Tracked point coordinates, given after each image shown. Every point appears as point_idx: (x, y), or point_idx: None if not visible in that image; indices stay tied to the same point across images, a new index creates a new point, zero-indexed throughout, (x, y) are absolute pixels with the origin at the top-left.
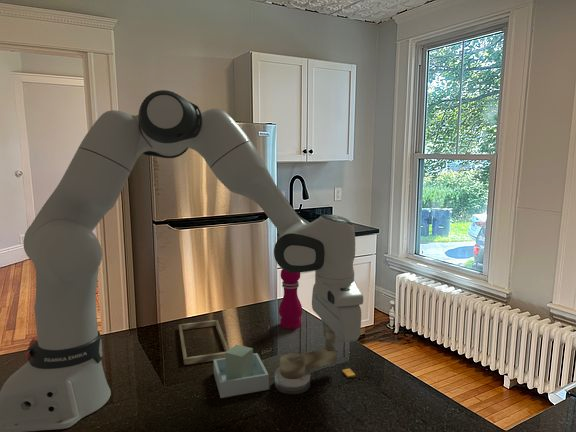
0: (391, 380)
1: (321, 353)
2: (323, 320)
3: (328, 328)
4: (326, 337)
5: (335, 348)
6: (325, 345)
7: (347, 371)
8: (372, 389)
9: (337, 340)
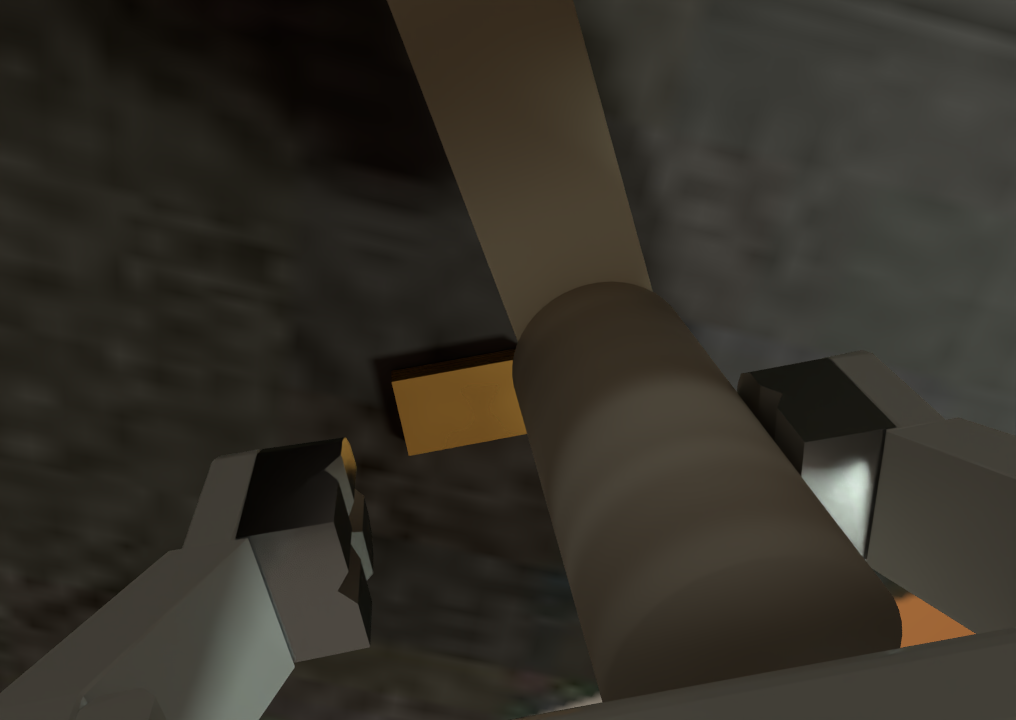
0: (313, 678)
1: (467, 177)
2: (949, 667)
3: (662, 602)
4: (635, 404)
5: (213, 469)
6: (650, 305)
7: (482, 399)
8: (171, 527)
9: (77, 651)
